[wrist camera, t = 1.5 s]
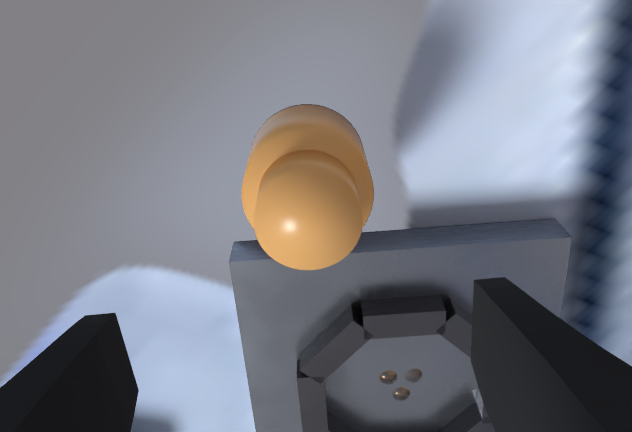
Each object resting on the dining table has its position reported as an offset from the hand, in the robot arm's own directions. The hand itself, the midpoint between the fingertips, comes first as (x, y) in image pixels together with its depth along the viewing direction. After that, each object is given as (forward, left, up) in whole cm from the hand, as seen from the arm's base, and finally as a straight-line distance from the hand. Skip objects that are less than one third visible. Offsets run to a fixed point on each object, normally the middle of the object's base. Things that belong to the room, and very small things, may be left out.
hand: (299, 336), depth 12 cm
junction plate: (-3, +9, -10) cm, 13 cm away
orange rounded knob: (0, 0, -10) cm, 10 cm away
